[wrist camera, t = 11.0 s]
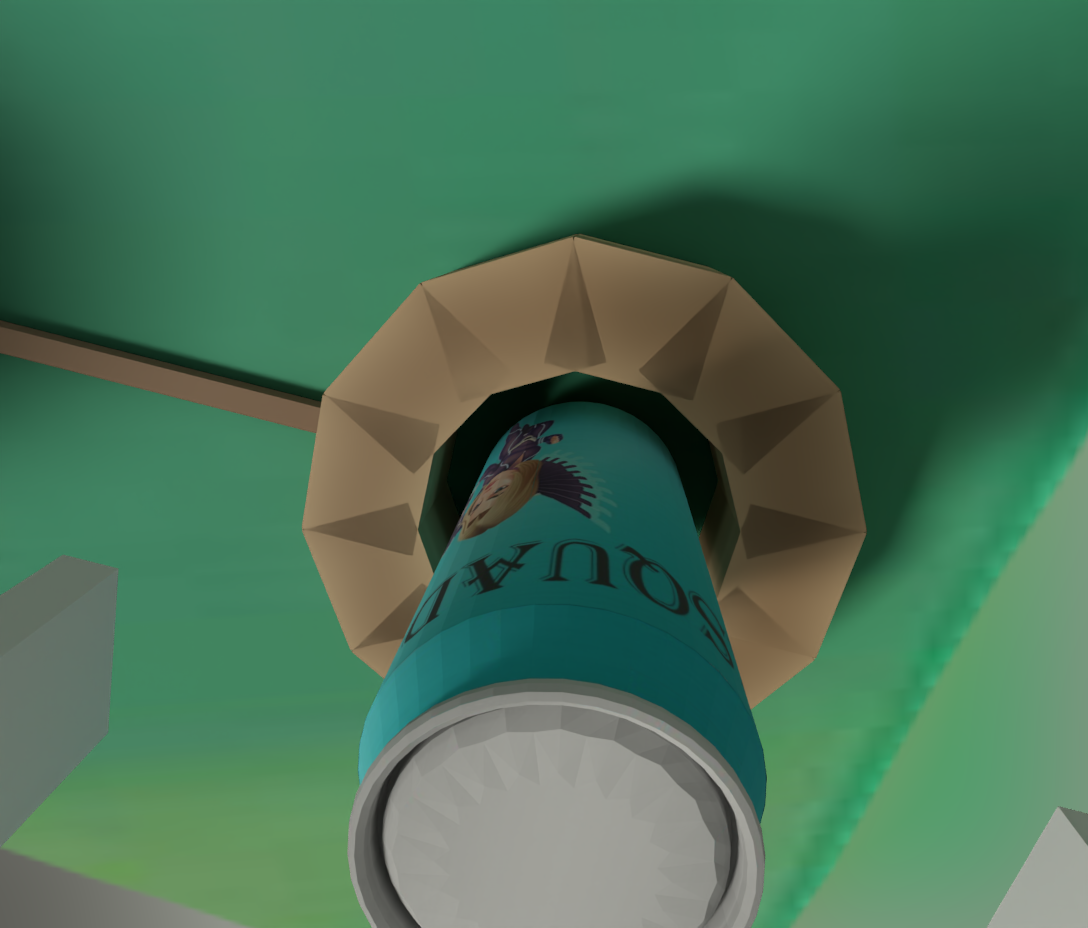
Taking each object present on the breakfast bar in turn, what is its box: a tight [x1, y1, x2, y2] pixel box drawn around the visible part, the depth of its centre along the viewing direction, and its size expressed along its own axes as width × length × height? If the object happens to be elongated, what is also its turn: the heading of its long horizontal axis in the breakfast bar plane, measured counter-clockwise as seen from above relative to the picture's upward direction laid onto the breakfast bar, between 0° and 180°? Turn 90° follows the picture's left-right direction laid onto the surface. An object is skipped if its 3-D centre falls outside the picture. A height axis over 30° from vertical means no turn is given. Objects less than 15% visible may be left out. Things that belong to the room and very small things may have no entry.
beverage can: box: [348, 402, 767, 928], centre depth 17 cm, size 6×6×15 cm
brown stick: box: [0, 320, 321, 433], centre depth 23 cm, size 1×14×1 cm, turn 77°
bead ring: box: [302, 234, 867, 709], centre depth 22 cm, size 14×14×4 cm
